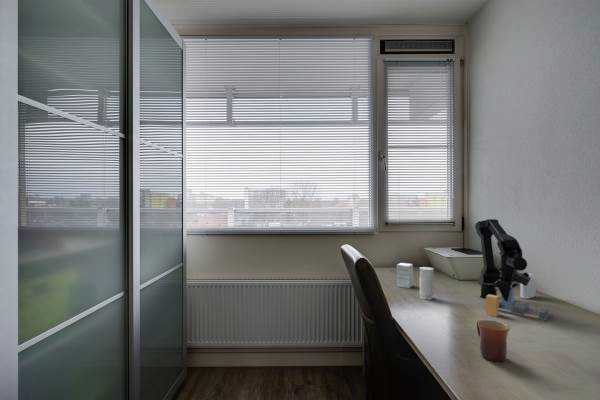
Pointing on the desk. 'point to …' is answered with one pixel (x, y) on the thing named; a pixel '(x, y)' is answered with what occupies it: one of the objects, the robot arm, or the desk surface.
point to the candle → (426, 283)
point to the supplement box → (404, 275)
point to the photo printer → (528, 288)
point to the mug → (493, 339)
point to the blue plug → (510, 299)
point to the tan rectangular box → (492, 305)
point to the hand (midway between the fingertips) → (507, 300)
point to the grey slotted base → (525, 311)
